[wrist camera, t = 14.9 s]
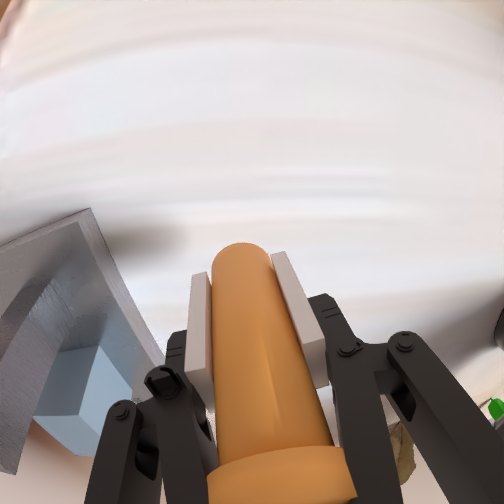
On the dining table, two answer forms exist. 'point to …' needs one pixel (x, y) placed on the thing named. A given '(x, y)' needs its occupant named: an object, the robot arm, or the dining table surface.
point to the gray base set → (62, 319)
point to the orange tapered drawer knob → (266, 395)
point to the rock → (403, 452)
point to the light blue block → (79, 398)
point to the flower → (496, 408)
